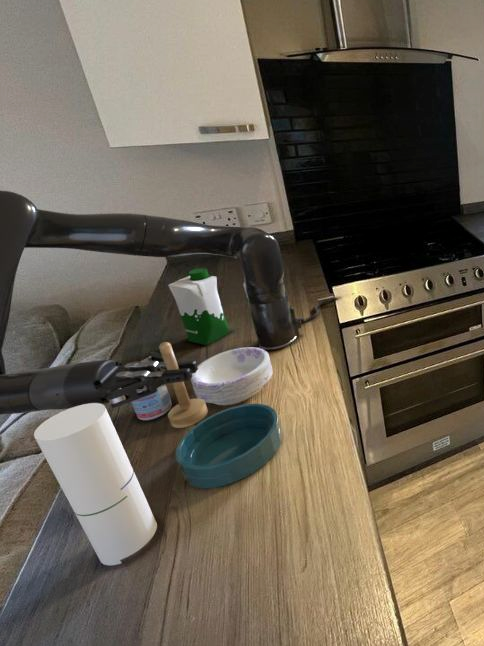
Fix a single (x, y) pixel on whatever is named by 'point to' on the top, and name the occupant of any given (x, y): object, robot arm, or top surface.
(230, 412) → the bowl
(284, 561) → the top surface
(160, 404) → the pill bottle
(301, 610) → the top surface
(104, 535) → the cylindrical container
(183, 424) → the wooden peg on disc
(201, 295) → the milk carton
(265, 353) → the paper bowls
